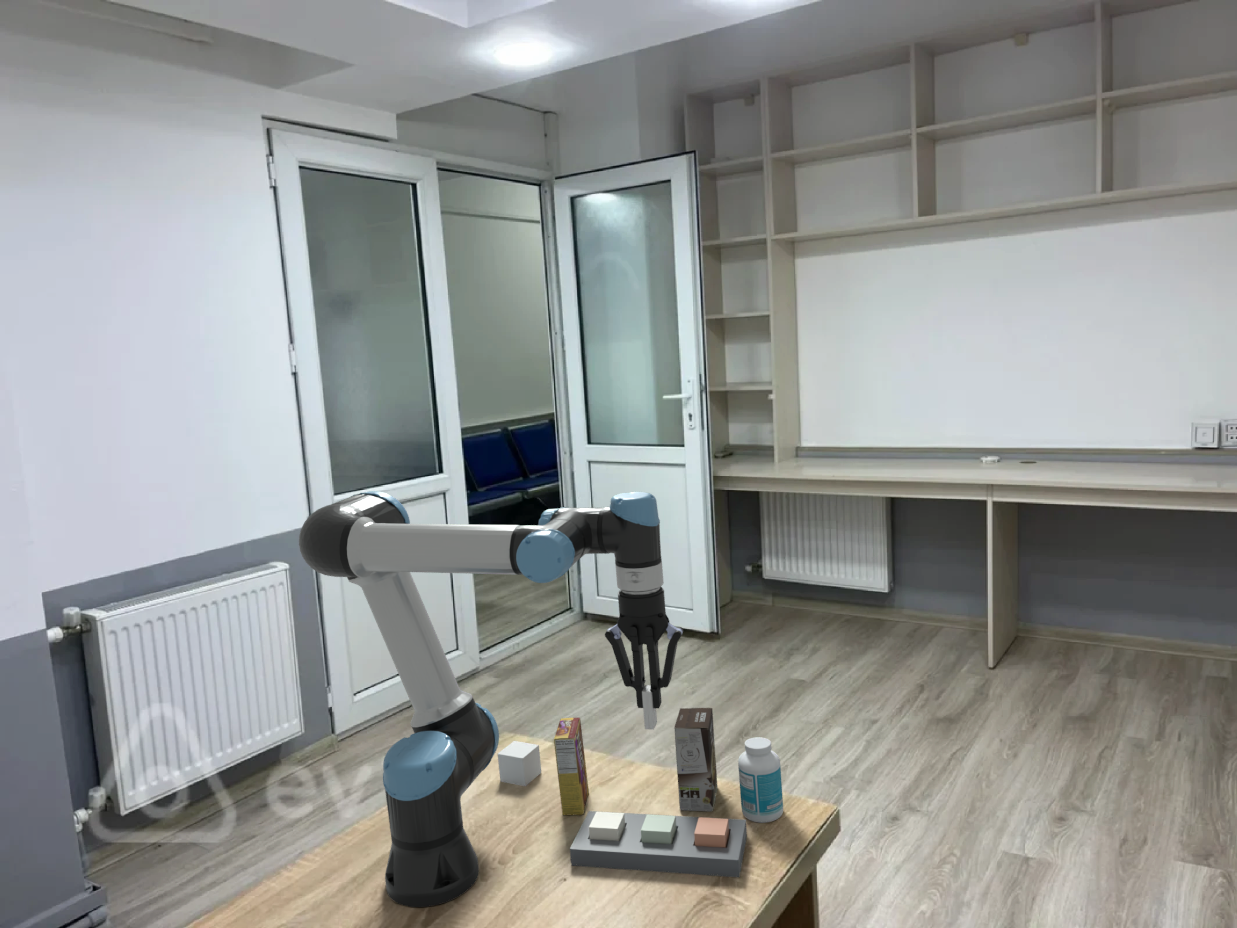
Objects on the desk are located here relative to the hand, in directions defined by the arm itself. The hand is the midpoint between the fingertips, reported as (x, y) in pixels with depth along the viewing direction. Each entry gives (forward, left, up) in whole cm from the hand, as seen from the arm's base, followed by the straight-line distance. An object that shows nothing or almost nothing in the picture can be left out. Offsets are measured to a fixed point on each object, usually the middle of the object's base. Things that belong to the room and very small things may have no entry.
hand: (650, 725), depth 152 cm
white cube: (-33, +22, -23) cm, 46 cm away
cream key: (-9, 0, -21) cm, 23 cm away
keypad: (0, 0, -22) cm, 22 cm away
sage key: (0, 0, -21) cm, 21 cm away
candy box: (-19, +13, -23) cm, 32 cm away
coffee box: (+4, +17, -23) cm, 29 cm away
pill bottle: (+16, +13, -23) cm, 31 cm away
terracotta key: (+9, 0, -21) cm, 23 cm away
